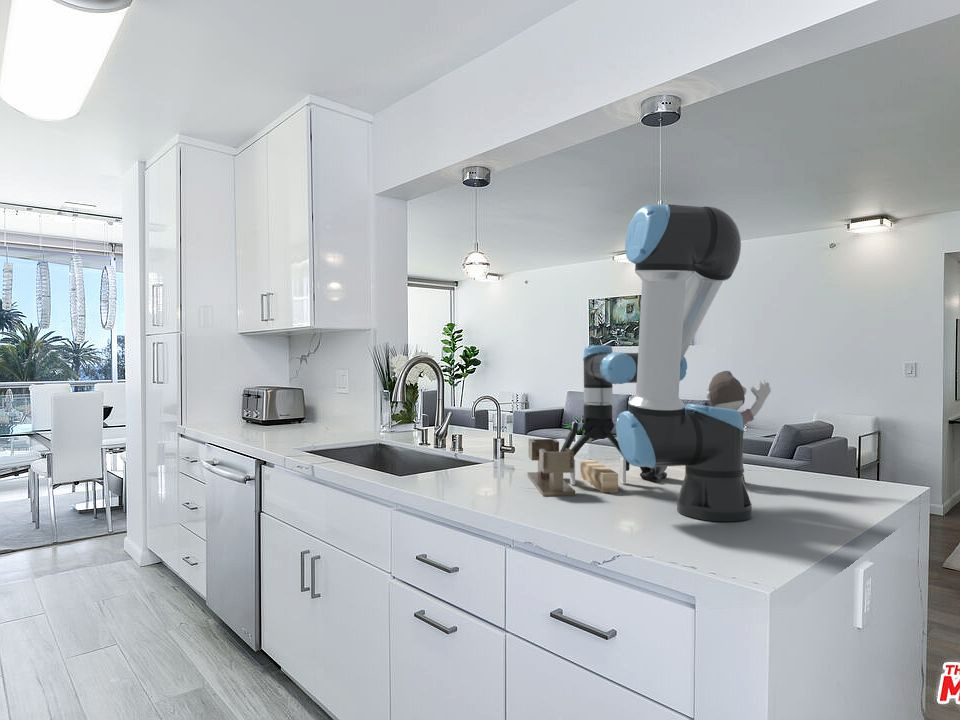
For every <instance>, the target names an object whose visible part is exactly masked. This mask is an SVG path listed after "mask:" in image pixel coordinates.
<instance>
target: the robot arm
mask: <svg viewBox="0 0 960 720" xmlns="http://www.w3.org/2000/svg"><path fill="white" fill-rule="evenodd" d="M740 235H741V234H740V231H739V228H738V226H737V224H736V222H735V221H734V219H733V218H732V217H731V216H730V215H729V214H728V213H726V211H723V210H721V208H717V207H714V206H698V205H697V206H695V205H681V204H668V203H664V204H663V203H662V204H661V203H660V204H647V205H644V206H642V207H641V208H640V209H639V210H637V211H636V212H635V214H634V215H633V217H632V218H631V220H630V223H629V225H628V228H627V231H626V235H625V242H624V245H625V246H624V251H625V253H626V255H625V256H626V259H627V260H628V261H629V262H630V263H632V264H635V265H634V266H635V267H634V273H635V274H636V275H637V276H638V277H639V278H640V280H641V296H640V310H639V311H640V314H639V318H640V319H639V329H638V331H639V332H638V334H639V335H638V351H637V352H616V351H615V352H614V350H613V347H612V346H611V345H599V344H598V345H586V346H585V347H584V349H583V358H582V360H583V402H584V405H583V421H582V422H576V421H572V422H571V426H570V431H569V433H568V435H567V436H566V439H565V440H564V443H563V445H562V447H561V448H560V450H559V452H565V448H569V449H570V447H571V445H572V443H573V442H574V439H575V438H576V436H577V433H578V432H579V431H580V430H581V428H582V429H583V431H584V432H583V433H582V435H581V437H580V438H579V439H578V440H577V441H576V443H575V444H574V445H573V446H572V447H571V449H570V450H572V451H573V452H574V457H575V456H576V455H577V454H578V452H580V450H581V449H582V447H583V446H584V445H585V444H586V443H587V442H588V441H589V440H590V439H592V440H598V439H601V440H605V439H607V440H609V442H610V443H611V444H612V445H613V446H614V448H615V449H616V450H617V451H618V452H619V453H620V455H621V456H622V457H619V482H620V483H621V484H622V485H626V484H627V472H628V471H630V465H631V466H633V467H637V468H640V467H649V468H653V467H661V466H667V467H679V466H680V467H682V466H685V469H684V473H685V475H684V478H683V481H682V485H681V487H680V490H679V493H678V495H677V498H676V511H677V512H678V513H679V514H681V515H683V516H687V517H689V518H693V519H698V520H703V521H704V520H705V521H710V522H711V521H713V522H726V523H727V522H728V523H729V522H741V521H747V520H750V519H751V518H752V516H753V506H752V501H751V499H750V497H749V493H748V490H747V487H746V483H745V484H744V481H743V474H744V473H743V468H744V433H745V430H744V427H743V419H742V415H741V413H740V412H741V411H739V410H733V409H726V408H719V407H711V406H710V405H701V404H695V403H687V404H685V402H684V401H682V399H681V398H680V396H679V392H680V382H681V381H683V380H684V379H685V378H686V375H687V370H688V362H687V359H686V356H685V355H686V353H687V352H688V349H689V347H690V345H691V343H692V341H693V340H694V337H695V336H696V334H697V332H698V330H699V328H700V326H701V324H702V323H703V321H704V318H705V317H706V315H707V313H708V311H709V309H710V307H711V305H712V303H713V301H714V299H715V298H716V295H717V294H718V292H719V290H720V288H721V286H722V284H723V282H725V281H728V280H729V279H730V278H732V276H733V273H734V272H735V270H736V268H737V265H738V263H739V260H740V255H741V249H742V243H741V239H742V238H741V236H740ZM623 384H636V387H635V388H636V389H635V390H636V391H635V394H634V395H633V396H632V397H631V398H630V399H629V400H627V401H628V402H627V403H628V404H627V410H624V411H622V412H620V413H619V414H618V416H617V420H616V421H615V422H614V420H613V405H612V404H611V403H613V400H614V399H613V395H614V394H613V385H623ZM614 428H615V430H616V431H615V432H616V437H615V436H614V434H613V433H612V431H613V430H614ZM569 483H570V485H572V486H575V485H576V460H575V459H574V473H569Z"/></svg>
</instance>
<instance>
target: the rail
mask: <svg viewBox="0 0 960 720" xmlns="http://www.w3.org/2000/svg"><path fill="white" fill-rule="evenodd" d="M579 462H580V463H579V464H580V465H579V469H580V470H579V471H580V473H579V474H580V475H579V477H580V478H581V477H582V478H583V479H582V478H581V479H582V480H584V481H585V480H586V481H587V482H586V481H585V482H586V483H588V484H589V483H590V484H589V485H591V486H592V485H593V486H594V487H593V486H592V487H593V488H595V489H596V488H597V489H596V490H597V491H599V490H600V491H601V493H602V492H618V493H619V473H618V472H616V471H614V470H612V469H611V468H610V467H607V466H605V465H604V464H602V463H600V462H598V461H596V460H595V459H587V460H586V459H584V460H582V459H581V460H580V461H579ZM600 491H599V492H600Z"/></svg>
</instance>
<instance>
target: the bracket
mask: <svg viewBox="0 0 960 720" xmlns="http://www.w3.org/2000/svg"><path fill="white" fill-rule="evenodd" d="M528 458H529V460H531V461H537V472H535V471H534V472H526V473H527V474H526V475H527V478H528V479H529V480H530V482H531V483H532V484H533V485H534V487H535V488H536V489H537V490H538V492H539V493H540V495H541V496H542V497H563V496H565V497H569V496H570V497H571V496H573V497H574V496H576V491H575V490H574V488H573V487H571V486H570V484H569V483H567V482H566V480H564V474H565V473H566V474H567V473H569V474H570V473H574V460H575V456H574V452H573V451H572V450H571V449H570V448H565V452H560V441H559V440H557V439H556V438H528Z"/></svg>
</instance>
